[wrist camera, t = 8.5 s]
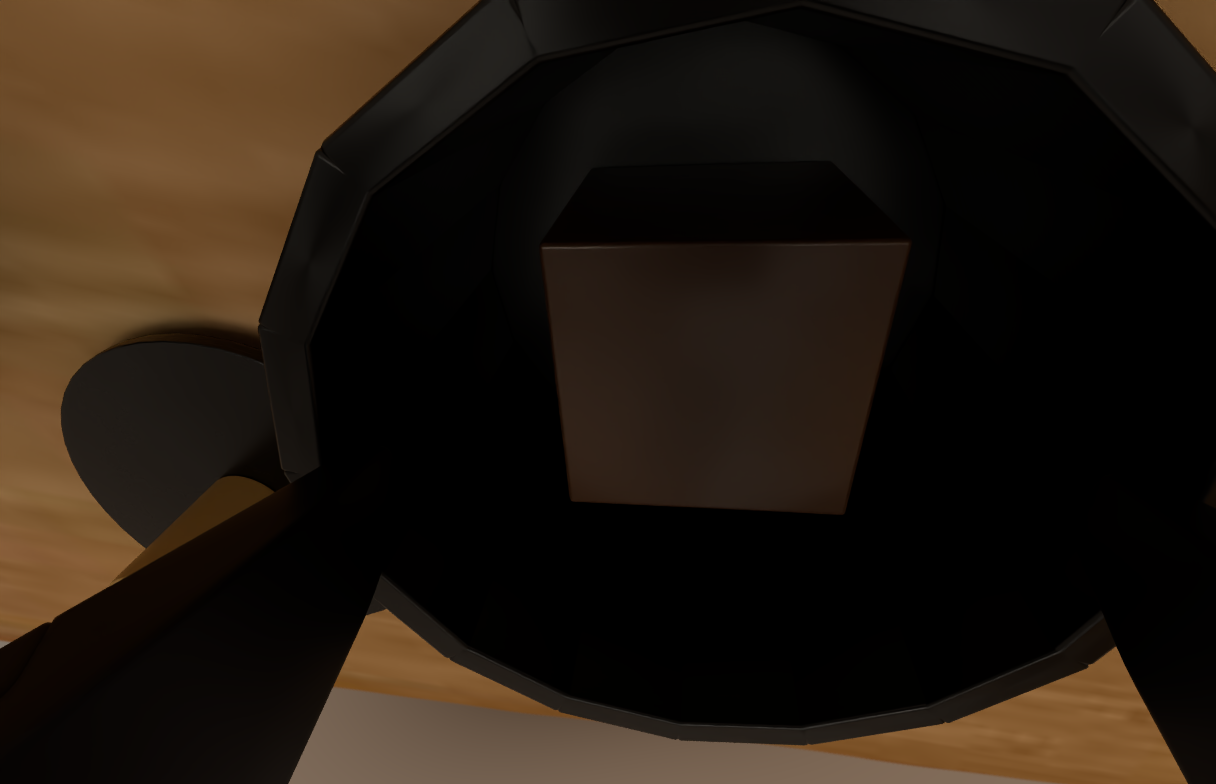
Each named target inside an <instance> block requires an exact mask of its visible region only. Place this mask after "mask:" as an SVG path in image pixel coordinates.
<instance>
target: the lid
mask: <svg viewBox="0 0 1216 784" xmlns="http://www.w3.org/2000/svg"><path fill="white" fill-rule="evenodd" d="M61 427H62V432H63V437H64V441H65V445H66V447H67V450H68V453H69V456H70V458H71V461H72V463H73V465H74V466H75V468H76V470H77V472H78V474H79V476H80V478H81V479H82V481H83V482H84V484H85V485H86V487H87V488H88V490H89V491H90V493H91V494H92V496H93V497H94V498H95V499H96V500H97V502H98V503H99V504H100V505H101V506H102V508H103V509H104V510H105V511H106V512H107V513H108V514H109V515H110V517H111V518H112V519H113V520H114V521H115V522H116V523H117V524H118V525H119V526H120V527H121V528H122V529H123V530H125V531H126V532H127V533H128V534H129V535H130V536H131V537H133V538H134V539H135V540H136V541H137V542H138V543H140V544H141V545H142V546H143V547H145V548H146V549H145V550H144V551H143V552H142V553H141V554H140V555H139V556H138V557H137V558H136V559H135V560H134V561H133V562H132V563H131V564H130V565H129V566H128V567H127V568H126V569H125V570H123V571H122V572H121V573H120V574H119V575H118V576H117V577H116V578H115V579H114V580H113V581H112V582H111V584H110V586H111V585H113V584H114V583H116V582H118V581H120V580H122V579H123V578H125V577H127V576H129V575H130V574H132V573H134V572H136V571H137V570H139V569H141V568H143V567H144V566H146V565H148V564H150V563H151V562H153V561H155V560H157V559H158V558H160V557H162V556H164V555H165V554H167V553H169V552H171V551H172V550H174V549H176V548H178V547H179V546H181V545H183V544H185V543H186V542H188V541H190V540H192V539H193V538H195V537H197V536H199V535H200V534H202V533H204V532H206V531H208V530H209V529H211V528H213V527H215V526H216V525H218V524H220V523H222V522H223V521H225V520H227V519H229V518H230V517H232V516H234V515H236V514H237V513H239V512H241V511H243V510H244V509H246V508H248V507H250V506H251V505H253V504H255V503H257V502H258V501H260V500H262V499H264V498H265V497H267V496H269V495H271V494H272V493H274V492H276V491H278V490H279V489H281V488H283V487H285V486H287V485H288V484H290V482H289V480H288V479H287V477H286V476H285V474H284V470H283V469H282V468H281V464H280V458H279V452H278V446H277V440H276V434H275V428H274V422H273V416H272V410H271V404H270V398H269V392H268V386H267V380H266V375H265V369H264V363H263V357H262V351H261V350H260V349H257V348H253V347H250V346H247V345H243V344H240V343H237V342H233V341H230V340H224V339H219V338H214V337H209V336H204V335H191V334H178V333H174V334H156V335H148V336H143V337H138V338H133V339H129V340H126V341H124V342H122V343H119V344H117V345H114V346H112V347H110V348H108V349H106V350H104V351H103V352H101V353H99V354H97V355H96V356H95V357H93V358H92V359H90V360H89V361H87V362H86V363H84V364H83V365H82V366H81V368H80V369H79V370H78V371H77V372H76V373H75V374H74V376H73V377H72V378H71V380H70V382H69V384H68V386H67V388H66V390H65V392H64V397H63V402H62V406H61ZM385 609H386V608H385V607H384V606H383V605H381V604H380V603H379V602H378V601H377V600H375V599H374V598H372V601H371V604H370V607H369V609H368V611H367V613H366V615H369V614H372V613H376V612H379V611H382V610H385Z"/></svg>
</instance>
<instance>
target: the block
mask: <svg viewBox="0 0 1216 784" xmlns="http://www.w3.org/2000/svg"><path fill="white" fill-rule="evenodd" d="M911 246H912V240H911V238H910V237H909V236H908V235H907V234H906V233H905V232H904V231H903V230H902V229H901V228H900V227H899V226H898V225H897V224H896V223H894V222H893V221H892V220H891V219H890V218H889V217H888V216H887V215H886V214H885V213H884V212H883V211H882V210H881V209H880V208H879V207H878V206H877V205H876V204H875V203H874V202H873V201H872V200H871V199H870V198H869V197H868V196H867V195H866V194H865V193H864V192H863V191H862V190H861V189H860V188H859V187H858V186H857V185H855V184H854V183H853V182H852V181H851V180H850V179H849V178H848V177H847V176H846V175H845V174H844V173H843V172H842V171H841V170H840V169H839V168H838V167H837V166H836V165H835V164H834V163H833V162H831V161H816V162H783V163H750V164H716V165H683V166H650V167H617V168H593V169H590V171H589V172H588V174H587V175H586V177H585V178H584V180H583V181H582V183H581V184H580V186H579V187H578V189H577V190H576V191H575V193H574V194H573V196H572V197H571V199H570V200H569V202H568V203H567V205H566V206H565V208H564V209H563V210H562V212H561V213H560V215H559V216H558V218H557V219H556V221H555V222H554V224H553V225H552V227H551V228H550V230H549V231H548V232H547V234H546V235H545V237H544V238H543V240H542V241H541V243H540V245H539V253H540V261H541V269H542V278H543V286H544V294H545V302H546V310H547V318H548V326H549V334H550V343H551V351H552V359H553V367H554V375H555V383H556V391H557V400H558V408H559V416H560V424H561V432H562V440H563V448H564V456H565V465H566V473H567V481H568V489H569V497H570V500H571V501H573V502H590V503H610V504H630V505H651V506H671V507H691V508H711V509H732V510H752V511H772V512H792V513H813V514H833V515H843V514H844V513H845V511H846V507H847V503H848V499H849V495H850V491H851V487H852V483H853V479H854V475H855V471H856V467H857V463H858V459H859V455H860V451H861V447H862V443H863V439H864V435H865V431H866V427H867V423H868V419H869V415H870V411H871V407H872V403H873V399H874V395H875V391H876V387H877V383H878V379H879V375H880V371H881V367H882V363H883V359H884V355H885V351H886V347H887V343H888V339H889V335H890V331H891V327H892V322H893V318H894V314H895V310H896V306H897V302H898V298H899V294H900V290H901V286H902V282H903V278H904V274H905V270H906V266H907V262H908V258H909V254H910V250H911Z"/></svg>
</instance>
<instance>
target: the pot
mask: <svg viewBox="0 0 1216 784" xmlns="http://www.w3.org/2000/svg"><path fill="white" fill-rule="evenodd" d="M816 161H831V162H833V163H834V164H835V165H836V166H837V167H838V168H839V169H840V170H841V171H842V172H843V173H844V174H845V175H846V176H847V177H848V178H849V179H850V180H851V181H852V182H853V183H854V184H855V185H857V186H858V187H859V188H860V189H861V190H862V191H863V192H864V193H865V194H866V195H867V196H868V197H869V198H870V199H871V200H872V201H873V202H874V203H875V204H876V205H877V206H878V207H879V208H880V209H881V210H882V211H883V212H884V213H885V214H886V215H887V216H888V217H889V218H890V219H891V220H892V221H893V222H894V223H896V224H897V225H898V226H899V227H900V228H901V229H902V230H903V231H904V232H905V233H906V234H907V235H908V236H909V237H910V238H911V240H912V246H911V250H910V254H909V258H908V262H907V266H906V270H905V274H904V278H903V282H902V286H901V290H900V294H899V298H898V302H897V306H896V310H895V314H894V318H893V322H892V327H891V331H890V335H889V339H888V343H887V347H886V351H885V355H884V359H883V363H882V367H881V371H880V375H879V379H878V383H877V387H876V391H875V395H874V399H873V403H872V407H871V411H870V415H869V419H868V423H867V427H866V431H865V435H864V439H863V443H862V447H861V451H860V455H859V459H858V463H857V467H856V471H855V475H854V479H853V483H852V487H851V491H850V495H849V499H848V503H847V507H846V511H845V513H844V514H843V515H833V514H813V513H792V512H772V511H752V510H732V509H711V508H691V507H671V506H651V505H630V504H610V503H590V502H573V501H571V500H570V497H569V489H568V481H567V473H566V465H565V456H564V448H563V440H562V432H561V424H560V416H559V408H558V400H557V391H556V383H555V375H554V367H553V359H552V351H551V343H550V334H549V326H548V318H547V310H546V302H545V294H544V286H543V278H542V269H541V261H540V253H539V245H540V243H541V241H542V240H543V238H544V237H545V235H546V234H547V232H548V231H549V230H550V228H551V227H552V225H553V224H554V222H555V221H556V219H557V218H558V216H559V215H560V213H561V212H562V210H563V209H564V208H565V206H566V205H567V203H568V202H569V200H570V199H571V197H572V196H573V194H574V193H575V191H576V190H577V189H578V187H579V186H580V184H581V183H582V181H583V180H584V178H585V177H586V175H587V174H588V172H589V171H590V169H593V168H617V167H650V166H683V165H716V164H750V163H783V162H816ZM259 323H260V324H259V326H258V333H259V339H260V345H261V351H262V357H263V363H264V369H265V375H266V380H267V386H268V392H269V398H270V404H271V410H272V416H273V422H274V428H275V434H276V440H277V446H278V452H279V458H280V464H281V468H282V469H283V470H284V474H285V476H286V477H287V479H288V480H289V482H290V483H292V482H294V481H295V480H297V479H299V478H301V477H302V476H304V475H306V474H308V473H309V472H311V471H313V470H315V469H316V468H318V467H320V466H322V465H323V464H325V463H327V462H329V461H330V460H332V459H334V458H336V457H337V456H339V455H341V454H343V453H344V452H346V451H348V450H350V449H351V448H353V447H355V446H358V445H377V446H385V447H387V448H389V450H390V451H391V452H392V454H393V457H394V460H395V463H396V466H397V469H398V472H399V475H400V478H401V480H402V483H403V486H404V490H405V503H404V508H403V511H402V514H401V517H400V520H399V523H398V526H397V529H396V532H395V535H394V538H393V540H392V543H391V546H390V549H389V552H388V555H387V558H386V561H385V564H384V567H383V570H382V573H381V576H380V579H379V582H378V585H377V588H376V590H375V593H374V596H373V598H374V599H375V600H377V601H378V602H379V603H380V604H381V605H383V606H384V607H385V608H386V609H388V610H389V611H390V612H391V613H392V614H394V615H395V616H396V617H397V618H398V619H400V620H401V621H402V622H403V623H404V624H406V625H407V626H408V627H409V628H411V629H412V630H413V631H414V632H415V633H417V634H418V635H419V636H420V637H421V638H423V639H424V640H425V641H426V642H428V643H429V644H430V645H431V646H432V647H434V648H435V649H436V650H437V651H438V652H440V653H441V654H442V655H443V656H444V657H447V658H450V660H451V661H453V662H455V663H457V664H459V665H461V666H464V667H466V668H468V669H470V670H472V671H474V672H476V673H478V674H480V675H483V676H485V677H487V678H489V679H491V680H493V681H495V682H497V683H499V684H501V685H504V686H506V687H508V688H510V689H512V690H514V691H516V692H518V693H520V694H523V695H525V696H527V697H529V698H531V699H533V700H535V701H537V702H539V703H541V704H544V705H546V706H548V707H550V708H552V709H554V710H559V712H561V713H566V714H570V715H574V716H578V717H582V718H587V719H591V720H595V721H599V722H603V723H608V724H612V725H616V726H620V727H625V728H629V729H633V730H637V731H641V732H645V733H650V734H654V735H658V736H662V737H667V738H671V739H675V740H676V739H679V740H684V741H708V742H733V743H758V744H783V745H807V744H811V745H813V744H819V743H825V742H832V741H838V740H844V739H851V738H857V737H863V736H869V735H876V734H882V733H888V732H895V731H901V730H907V729H914V728H920V727H926V726H933V725H939V724H943V723H945V722H946V723H950V722H953V721H955V720H958V719H960V718H963V717H965V716H968V715H970V714H973V713H975V712H978V711H980V710H983V709H985V708H988V707H991V706H993V705H996V704H998V703H1001V702H1003V701H1006V700H1008V699H1011V698H1013V697H1016V696H1018V695H1021V694H1023V693H1026V692H1028V691H1031V690H1033V689H1036V688H1039V687H1041V686H1044V685H1046V684H1049V683H1051V682H1054V681H1056V680H1059V679H1061V678H1064V677H1066V676H1069V675H1071V674H1074V673H1076V672H1079V671H1082V670H1084V669H1087V668H1088V665H1089V664H1093V663H1095V662H1096V661H1097V660H1099V659H1100V658H1101V657H1103V656H1104V655H1105V654H1106V653H1108V652H1109V651H1110V650H1112V649H1113V648H1114V647H1116V644H1115V642H1114V640H1113V637H1112V635H1111V632H1110V630H1109V628H1108V625H1107V623H1106V620H1105V618H1104V616H1103V613H1102V611H1101V608H1100V606H1099V603H1098V601H1097V599H1096V596H1095V594H1094V591H1093V589H1092V587H1091V584H1090V582H1089V579H1088V577H1087V575H1086V572H1085V570H1084V567H1083V565H1082V562H1081V560H1080V558H1079V555H1078V553H1077V550H1076V548H1075V546H1074V542H1073V538H1072V526H1073V522H1074V520H1075V518H1076V516H1077V515H1078V513H1079V511H1080V509H1081V508H1082V506H1083V504H1084V502H1085V500H1086V499H1087V497H1088V495H1089V493H1090V492H1091V490H1092V488H1093V486H1094V485H1095V483H1096V482H1097V480H1098V479H1100V478H1101V477H1103V476H1104V475H1108V474H1132V475H1145V476H1149V477H1152V478H1155V479H1157V480H1159V481H1161V482H1163V483H1165V484H1167V485H1169V486H1171V487H1173V488H1175V489H1177V490H1179V491H1181V492H1183V493H1185V494H1187V495H1189V496H1191V497H1193V498H1195V499H1197V500H1199V501H1202V502H1204V503H1206V504H1208V505H1210V506H1212V507H1214V508H1216V72H1215V71H1214V70H1213V68H1212V67H1211V66H1210V65H1209V64H1208V63H1207V61H1206V60H1205V59H1204V58H1203V57H1202V56H1201V55H1200V53H1199V52H1198V51H1197V50H1196V49H1195V48H1194V46H1193V45H1192V44H1191V43H1190V42H1189V41H1188V39H1187V38H1186V37H1185V36H1184V35H1183V34H1182V33H1181V31H1180V30H1179V29H1178V28H1177V27H1176V26H1175V24H1174V23H1173V22H1172V21H1171V20H1170V19H1169V18H1168V16H1167V15H1166V14H1165V13H1164V12H1163V11H1162V9H1161V8H1160V7H1159V6H1158V5H1157V4H1156V2H1155V1H1154V0H480V1H478V2H477V3H476V4H475V5H474V6H473V7H472V8H471V9H470V10H468V11H467V12H466V13H465V14H464V15H463V16H462V17H461V18H460V19H458V20H457V21H456V22H455V23H454V24H453V25H452V26H451V27H450V28H448V29H447V30H446V31H445V32H444V33H443V34H442V35H441V36H440V37H438V38H437V39H436V40H435V41H434V42H433V43H432V44H431V45H430V46H428V47H427V48H426V49H425V50H424V51H423V52H422V53H421V54H419V55H418V56H417V57H416V58H415V59H414V60H413V61H412V62H411V63H409V64H408V65H407V66H406V67H405V68H404V69H403V70H402V71H401V72H399V73H398V74H397V75H396V76H395V77H394V78H393V79H392V80H391V81H389V82H388V83H387V84H386V85H385V86H384V87H383V88H382V89H381V90H379V91H378V92H377V93H376V94H375V95H374V96H373V97H372V98H371V99H369V100H368V101H367V102H366V103H365V104H364V105H363V106H362V107H361V108H359V109H358V110H357V111H356V112H355V113H354V114H353V115H352V116H350V117H349V118H348V119H347V120H346V121H345V122H344V123H343V124H342V125H340V126H339V127H338V128H337V129H336V130H335V131H334V132H333V133H332V134H330V135H329V136H328V137H327V138H326V139H325V140H324V141H323V143H322V146H321V148H320V149H318V150H317V151H316V153H315V155H314V158H313V161H312V164H311V167H310V170H309V173H308V176H307V179H306V182H305V185H304V188H303V191H302V194H301V197H300V200H299V203H298V206H297V209H296V212H295V215H294V217H293V220H292V223H291V226H290V229H289V232H288V235H287V238H286V241H285V244H284V247H283V250H282V253H281V256H280V259H279V262H278V265H277V268H276V271H275V274H274V277H273V280H272V282H271V285H270V288H269V291H268V294H267V297H266V300H265V303H264V306H263V309H262V312H261V315H260V318H259Z"/></svg>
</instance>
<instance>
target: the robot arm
mask: <svg viewBox="0 0 1216 784" xmlns="http://www.w3.org/2000/svg"><path fill="white" fill-rule="evenodd" d="M404 503H405V490H404V486H403V483H402V480H401V478H400V475H399V472H398V469H397V466H396V463H395V460H394V457H393V454H392V452H391V451H390V450H389V448H387V447H385V446H377V445H358V446H355V447H353V448H351V449H350V450H348V451H346V452H344V453H343V454H341V455H339V456H337V457H336V458H334V459H332V460H330V461H329V462H327V463H325V464H323V465H322V466H320V467H318V468H316V469H315V470H313V471H311V472H309V473H308V474H306V475H304V476H302V477H301V478H299V479H297V480H295V481H294V482H292V483H290V484H288V485H287V486H285V487H283V488H281V489H279V490H278V491H276V492H274V493H272V494H271V495H269V496H267V497H265V498H264V499H262V500H260V501H258V502H257V503H255V504H253V505H251V506H250V507H248V508H246V509H244V510H243V511H241V512H239V513H237V514H236V515H234V516H232V517H230V518H229V519H227V520H225V521H223V522H222V523H220V524H218V525H216V526H215V527H213V528H211V529H209V530H208V531H206V532H204V533H202V534H200V535H199V536H197V537H195V538H193V539H192V540H190V541H188V542H186V543H185V544H183V545H181V546H179V547H178V548H176V549H174V550H172V551H171V552H169V553H167V554H165V555H164V556H162V557H160V558H158V559H157V560H155V561H153V562H151V563H150V564H148V565H146V566H144V567H143V568H141V569H139V570H137V571H136V572H134V573H132V574H130V575H129V576H127V577H125V578H123V579H122V580H120V581H118V582H116V583H114V584H113V585H111V586H109V587H107V588H106V589H104V590H102V591H100V592H99V593H97V594H95V595H93V596H92V597H90V598H88V599H86V600H85V601H83V602H81V603H79V604H78V605H76V606H74V607H72V608H71V609H69V610H67V611H65V612H64V613H62V614H60V615H58V616H57V617H55V619H54V620H53V621H52V623H50V622H47V623H44V624H42V625H40V626H39V627H37V628H35V629H33V630H32V631H30V632H28V633H26V634H25V635H23V636H21V637H19V638H18V639H16V640H14V641H13V642H11V643H9V644H7V645H6V646H4V647H2V648H0V784H288V783H289V781H290V779H291V777H292V775H293V772H294V770H295V768H296V766H297V764H298V761H299V759H300V757H301V755H302V753H303V751H304V748H305V746H306V744H307V742H308V740H309V738H310V735H311V733H312V731H313V729H314V727H315V725H316V722H317V720H318V718H319V716H320V714H321V712H322V710H323V707H324V705H325V703H326V701H327V699H328V696H329V694H330V692H331V690H332V688H333V686H334V683H335V681H336V679H337V677H338V675H339V673H340V670H341V668H342V666H343V664H344V662H345V660H346V657H347V655H348V653H349V651H350V649H351V647H352V644H353V642H354V640H355V638H356V636H357V634H358V631H359V629H360V627H361V625H362V623H363V620H364V618H365V616H366V613H367V611H368V609H369V607H370V604H371V601H372V598H373V596H374V593H375V590H376V588H377V585H378V582H379V579H380V576H381V573H382V570H383V567H384V564H385V561H386V558H387V555H388V552H389V549H390V546H391V543H392V540H393V538H394V535H395V532H396V529H397V526H398V523H399V520H400V517H401V514H402V511H403V508H404ZM1072 538H1073V542H1074V546H1075V548H1076V550H1077V553H1078V555H1079V558H1080V560H1081V562H1082V565H1083V567H1084V570H1085V572H1086V575H1087V577H1088V579H1089V582H1090V584H1091V587H1092V589H1093V591H1094V594H1095V596H1096V599H1097V601H1098V603H1099V606H1100V608H1101V611H1102V613H1103V616H1104V618H1105V620H1106V623H1107V625H1108V628H1109V630H1110V632H1111V635H1112V637H1113V640H1114V642H1115V644H1116V647H1117V649H1118V651H1119V653H1120V656H1121V658H1122V660H1123V662H1124V664H1125V667H1126V669H1127V670H1128V672H1129V674H1130V676H1131V678H1132V680H1133V682H1134V684H1135V686H1136V688H1137V690H1138V692H1139V694H1140V696H1141V697H1142V699H1143V701H1144V703H1145V705H1146V707H1147V709H1148V710H1149V712H1150V714H1151V716H1152V718H1153V720H1154V722H1155V723H1156V725H1157V727H1158V729H1159V731H1160V733H1161V734H1162V736H1163V738H1164V740H1165V742H1166V744H1167V746H1168V747H1169V749H1170V751H1171V753H1172V755H1173V757H1174V759H1175V760H1176V762H1177V764H1178V766H1179V768H1180V770H1181V771H1182V773H1183V775H1184V777H1185V779H1186V781H1187V783H1188V784H1216V508H1214V507H1212V506H1210V505H1208V504H1206V503H1204V502H1202V501H1199V500H1197V499H1195V498H1193V497H1191V496H1189V495H1187V494H1185V493H1183V492H1181V491H1179V490H1177V489H1175V488H1173V487H1171V486H1169V485H1167V484H1165V483H1163V482H1161V481H1159V480H1157V479H1155V478H1152V477H1149V476H1145V475H1132V474H1108V475H1104V476H1103V477H1101V478H1100V479H1098V480H1097V482H1096V483H1095V485H1094V486H1093V488H1092V490H1091V492H1090V493H1089V495H1088V497H1087V499H1086V500H1085V502H1084V504H1083V506H1082V508H1081V509H1080V511H1079V513H1078V515H1077V516H1076V518H1075V520H1074V522H1073V526H1072Z"/></svg>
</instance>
